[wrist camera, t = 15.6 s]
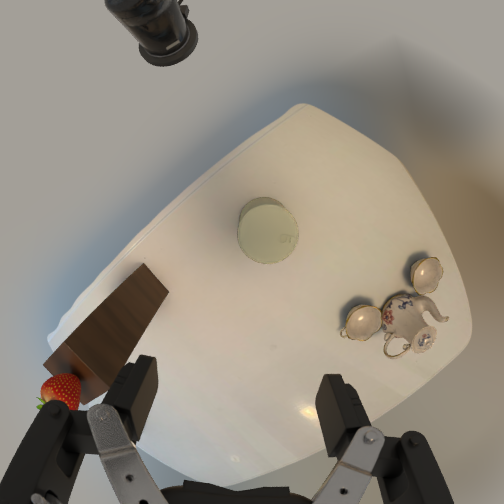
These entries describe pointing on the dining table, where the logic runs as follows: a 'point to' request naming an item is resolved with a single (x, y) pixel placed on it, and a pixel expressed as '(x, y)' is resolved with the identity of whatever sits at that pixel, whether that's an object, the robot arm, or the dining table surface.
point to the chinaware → (402, 313)
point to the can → (267, 231)
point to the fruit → (62, 390)
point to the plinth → (109, 334)
